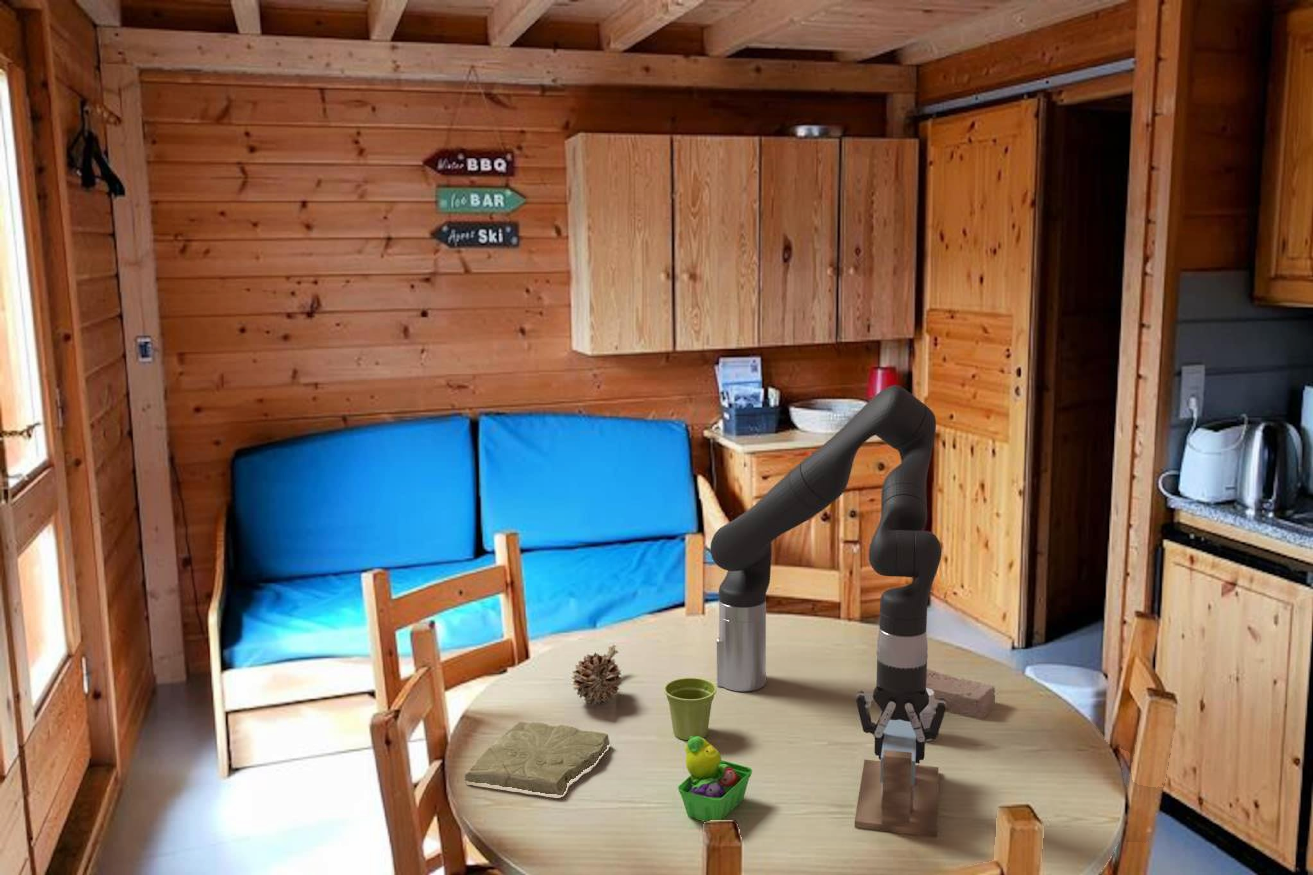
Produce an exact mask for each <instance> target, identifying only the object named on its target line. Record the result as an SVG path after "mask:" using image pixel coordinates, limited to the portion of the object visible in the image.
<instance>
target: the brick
mask: <svg viewBox="0 0 1313 875" xmlns="http://www.w3.org/2000/svg"><path fill="white" fill-rule="evenodd" d="M926 688H929V689H931V690H933V691H934V699H937V700H939V699H940V698H943V699H945V701H946V710H945V713H946V712H947V713H949V714H955V715H958V716H962V717H968V718H973V719H976V720H982V719H984V718H986V715H987V714H988V713H989V712H991V711H992V710H993V709H994V708H995V706H996V695H995V693H996V690H995V686H994V685H991V684H985V683H982V682H980V681H977V680H976V681H975V680H974V681H973V680H969V679H964V678H956V677H953V676H951V675H949V674H945V673H941V672H938V671H935V670H932V669H930V668H927V680H926Z"/></svg>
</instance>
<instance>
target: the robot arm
mask: <svg viewBox="0 0 1313 875" xmlns="http://www.w3.org/2000/svg"><path fill="white" fill-rule="evenodd" d="M936 430H937V420H936V416H935V414H934V412H933V410H932V409H930V408H929V406H928V405H927V404H925V403H923V402H922V401H921V400H920V399H918V398H917V397H916V396H914V395H913V394H912V393H911V392H909V391H908V390H906V389H905V388H903V387H902V386H901V385H896V384H894V385H889V386H887V387H886V388H884V389H882V390H881V391H879V392H878V393H876V394H875V395H874V396H873V397H872V398H871V399H869V401H868V402H867V403H866V404H865V405H864V406H863V407H862V408H861V409H860V410H859V411H858V412H857V413H856V414H855V415H854V416H853V417H852V418H851V419H850V420H849V421H847V422H846V424H845V425H844V426H843V427H842V428H841V429H840V430H838V431H837V432H836V433H835V434H834V435H833V436H831V438H829V439H828V440H827V441H826V442H825V443H824V444H823V445H821V446H820V447H819V448H818V449H817V450H815V451H814V452H812V453H811V454H810V455H809V456H807V457H806V458H805V459H803V460H802V461H801V462H800V463H799V464H797V465H796V466H795V467H794V468H792V470H790V471H789V472H788V473H787V474H786V475H785V476H784V477H783V478H782V479H780V480H779V481H778V482H777V483H776V484H774V486H773V487H772V488H770V489H769V490H768V492H767V493H766V494H764V495H763V496H762V498H760V499H759V500H758V501H757V502H756V503H755V504H754V505H753V506H751V507H750V508H749V509H747V511H745V512H744V513H742V514H740V515H738V516H737V517H736V518H734V519H733V520H731V521H729V522H727V523H726V524H725V525H723V526H721V527H719V528H718V529H717V530H716V531H715V533H714V535H713V537H712V539H711V541H710V549H709V550H710V556H711V559H712V560H713V562H714V564H715V565H716V566H717V567H719V568H720V569H722V570H724V571H727V573H726V575H725V577H724V579H723V580H722V582H721V583H720V585H719V587H718V638H717V639H716V687H721V688H725V689H727V690H730V691H735V692H751V691H752V692H753V691H758V690H760V689H762V688H763V687H764V686H765V685H766V682H767V678H766V677H767V667H766V666H767V663H766V662H767V656H766V655H767V591H768V589H769V586H770V581H771V569H772V568H771V566H772V542H773V541H774V540H776V538H778V537H780V536H781V535H783V534H785V533H787V532H789V531H790V530H792V529H795V528H796V527H799V525H802V524H803V523H806V521H809V520H810V519H812V518H814V517H815V516H817V515H818V514H819V513H820V512H823V510H826V509H827V507H829V506H830V505H831V504H833V503H834V502H835V501H837V499H839V498H840V497H841V496H842V495H843V494H844V492H845V490H846V489H847V486H848V484H849V480H850V478H851V473H852V469H853V464H854V460H855V457H856V455H857V452H858V451H859V449H860V448H861V447H862V446H863V444H865V443H866V442H867V441H869V440H870V438H872V437H874V436H876V437H878V438H879V439H880V440H881V441H883V442H884V443H886V444H887V445H888V446H890V447H891V448H893V449H894V450H896V451H897V452H898V453H899V457H900V462H901V463H900V464H898V465H897V466H896V467H894V468H893V469H892V470H891V471H890V472H889V473H888V474H887V476H886V477H885V478H884V481H883V484H882V486H881V500H880V501H881V502H880V503H881V507H880V508H881V510H880V513H881V514H880V520H879V523H878V525H877V528H876V529H875V532H874V534H873V536H872V538H871V542H870V545H869V550H868V560H869V563H870V566H871V568H872V569H873V571H875V573H876V574H878V575H880V576H884V577H898V578H899V577H900V578H914V579H913V580H912V581H911V583H908V584H907V585H903V586H899V587H898V586H897V587H894V588H890V589H886V590H885V591H884V592H882V594H881V595H880V600H879V601H880V602H879V630H878V637H877V644H876V645H877V648H876V685H875V688H874V690H873V691H870V692H864V691H862V690H859V691H858V692H857V695H856V699H855V702H856V707H857V710H858V715H859V719H860V724H861V727H862V731H863V732H864V733H865V734H872V736H873V737H874V755H875V756H878V760H879V761H881V752H882V745H883V740H884V730H885V728H886V726H887V724H888V722H889V720H903V721H908V722H911V725H912V728H913V730H914V732H915V735H916V764H918V765H920V761H924V759H925V756H926V753H925V751H926V750H925V749H926V742H925V741H926V740H928V739H933V740H937V738H938V735H939V732H940V728H941V726H942V722H943V719H944V717H945V716H944V715H945V713H946V711H945V710H946V701H945V699H943V698H940V699H939V700H937V699H934V698H931V697H929V695H928V693H927V691H926V680H927V669H928V657H929V655H928V635H927V623H928V621H927V620H928V604H929V597H930V593H931V590H932V587H933V586H932V585H933V583H934V581H935V580H934V579H935V577H936V575H937V572H938V569H939V566H940V562H941V559H942V552H943V551H942V545H941V543H940V540H939V538H938V537H937V536H936V535H935V533H933V532H932V531H929V530H928V531H927V530H924V529H925V528H926V525H927V523H928V506H927V505H928V503H927V502H928V500H927V480H928V479H927V478H928V473H929V467H930V462H931V457H932V453H933V448H934V442H935V436H936ZM872 701H874V702H875V704H876V705H877V706H878V708H879V709H880V711H881V712H880V715H879V717H878V720H877V722H876V723H875V722H872V718H871V714H870V709H869V708H870V707H871V705H872ZM927 705H929V706H930V707H931V712H932V713H933V714H934V715H933V718H932V721H931V725H930V727H929V728H925V729H924V726H923V723H922V720H921V716H920V713H921V712H922V711H923V709H924V708H925V707H926V706H927ZM933 740H932V741H933Z"/></svg>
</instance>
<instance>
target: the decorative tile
mask: <svg viewBox="0 0 1313 875" xmlns="http://www.w3.org/2000/svg"><path fill="white" fill-rule="evenodd" d="M609 744H610V745H611V743H610V738H609V735H608V733H604V732H598V731H592V730H583V729H582V730H581V729H579V728H577V727H576V726H575V727H574V726H570V725H564V724H560V725H556V726H555V725H549V724H547V723H544V722H525V721H517V722H516V724H514V725H513V726H512V727H510V728H509V729H508V730H507V731H506V732H504V733H503V734H502V735H501V736H500V737H499V738H498V739H496V741H495V742H494V743H493V744H491V746H490V747H488V748H487V749H485V751H484V752H483V753H482V754H481V755H480V756H479V757H478V759H476V760H475V762H474V763H473V764H472V765H471V766H470V767H469V769H467V770H466V772H465V775H464V780H465V781H469V782H475V783H487V784H490V785H499V786H502V787H512V788H517V789H522V790H528V791H532V792H540V793H545V794H557V795H563V794H564V792H565V791H566V788H567V783H569V781H570V780H571V779H574V778H576V776H578V775H579V774H581V772H583V770H585V769H587V768H589V767H590V766H592V765H594V763H596V761H597V760H598V758H599V756H601V755H602V753H604V751H605V750H606V749H607V745H609Z"/></svg>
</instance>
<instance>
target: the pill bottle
mask: <svg viewBox="0 0 1313 875" xmlns="http://www.w3.org/2000/svg"><path fill="white" fill-rule="evenodd" d="M926 691H927V693H928V695H929V697H931V698H934V691H933V690H931V689H929V688H926ZM933 715H934V714H933V713H932V712H931V707H930V706H929V705H927V706H926V707H925V708H924V709H923V711H922V712H921V713H920V716H921V720H922V723H923V726H924V729H925V728H929V727H930V725H931V721H932V718H933ZM930 741H933V739H928V740H926V741H925V743H926V742H930Z"/></svg>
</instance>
